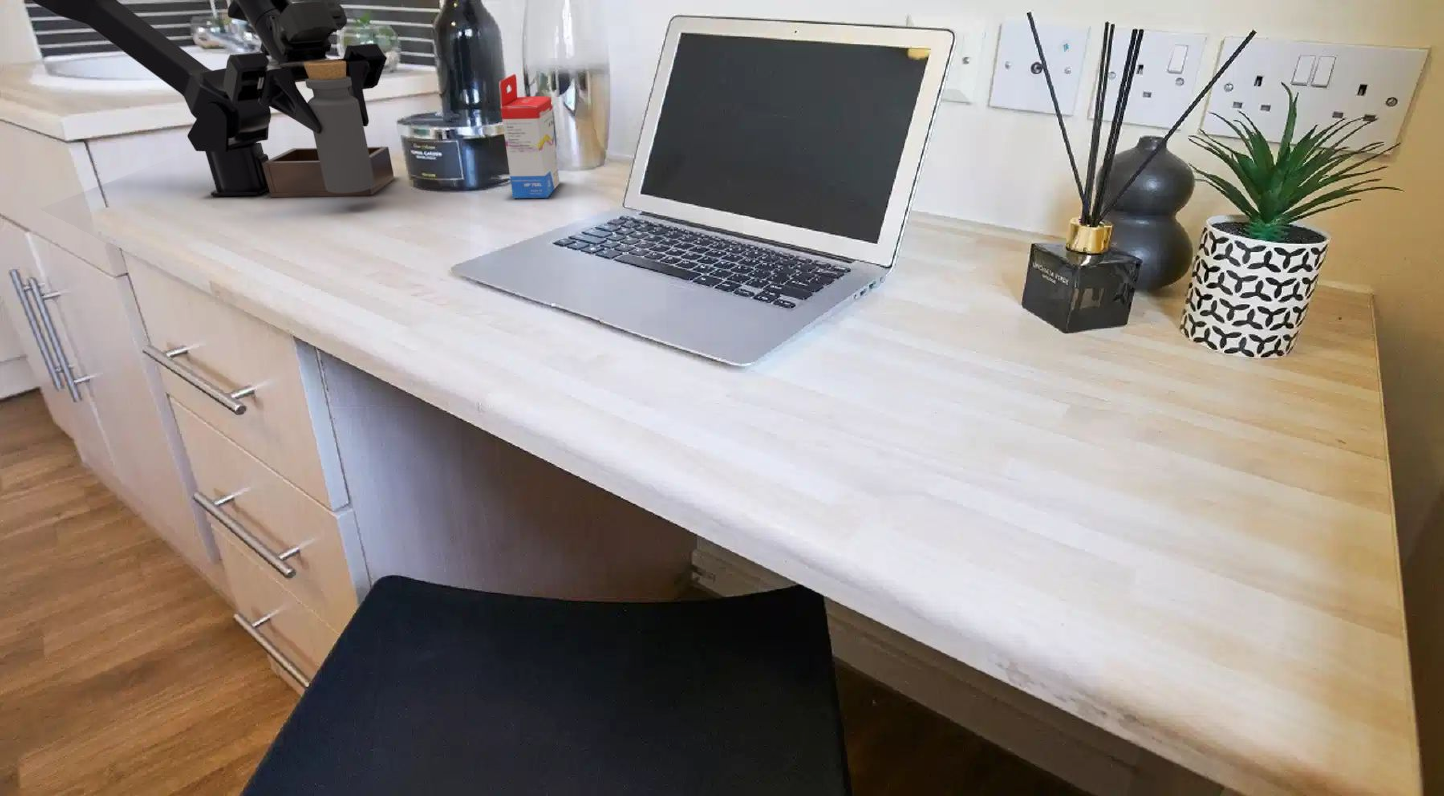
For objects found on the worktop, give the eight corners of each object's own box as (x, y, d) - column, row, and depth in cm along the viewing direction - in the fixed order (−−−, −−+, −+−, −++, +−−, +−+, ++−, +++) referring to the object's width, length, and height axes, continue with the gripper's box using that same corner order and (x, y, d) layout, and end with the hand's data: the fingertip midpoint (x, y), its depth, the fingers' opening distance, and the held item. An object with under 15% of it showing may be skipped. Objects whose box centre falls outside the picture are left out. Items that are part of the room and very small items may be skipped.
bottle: (380, 189, 107) (356, 62, 100) (331, 195, 104) (303, 66, 97) (368, 180, 111) (344, 58, 104) (321, 186, 108) (293, 61, 101)
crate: (270, 197, 114) (261, 162, 112) (300, 180, 122) (292, 148, 120) (371, 195, 114) (364, 161, 112) (394, 178, 122) (388, 146, 120)
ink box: (548, 198, 111) (535, 81, 104) (511, 199, 111) (496, 81, 104) (560, 183, 119) (549, 72, 112) (526, 183, 119) (512, 73, 112)
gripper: (205, -25, 92) (278, 91, 91) (363, -28, 105) (429, 74, 103) (196, 48, 100) (263, 156, 99) (344, 37, 113) (405, 132, 112)
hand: (343, 127), depth 103 cm, fingers closed on bottle, 6 cm apart
